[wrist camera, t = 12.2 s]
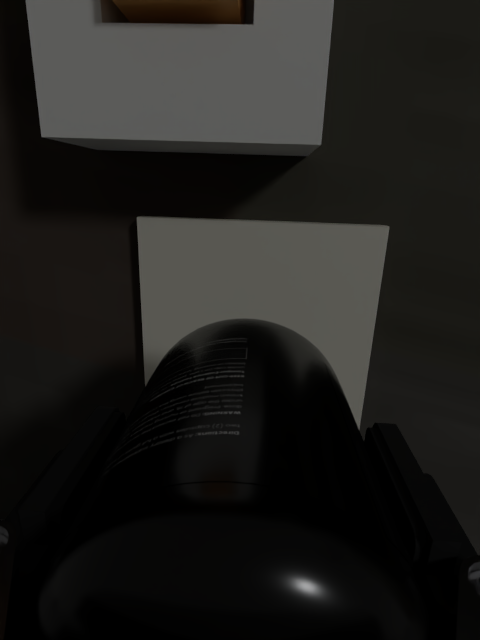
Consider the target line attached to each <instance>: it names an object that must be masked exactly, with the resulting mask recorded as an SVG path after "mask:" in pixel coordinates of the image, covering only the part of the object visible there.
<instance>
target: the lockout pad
mask: <svg viewBox="0 0 480 640" xmlns="http://www.w3.org/2000/svg"><path fill="white" fill-rule="evenodd" d="M137 231H138V252H139V272H140V292H141V312H142V332H143V353H144V373H145V386H146V385H147V383H148V381H149V379H150V378H151V376H152V374H153V373H154V371H155V369H156V368H157V366H158V364H159V363H160V361H161V360H162V358H163V357H164V356H165V355H166V353H167V352H168V351H169V350H170V349H171V348H172V347H173V346H174V345H175V344H176V343H177V342H178V341H179V340H181V339H182V338H183V337H185V336H186V335H188V334H189V333H191V332H193V331H195V330H196V329H198V328H201V327H203V326H205V325H208V324H211V323H214V322H218V321H223V320H228V319H241V318H248V319H259V320H265V321H269V322H273V323H276V324H279V325H282V326H285V327H287V328H289V329H291V330H293V331H295V332H297V333H298V334H300V335H302V336H303V337H305V338H306V339H307V340H309V341H310V342H311V343H312V344H313V345H314V346H316V347H317V348H318V349H319V350H320V352H321V353H322V354H323V355H324V356H325V358H326V359H327V360H328V362H329V363H330V365H331V366H332V368H333V370H334V372H335V374H336V376H337V378H338V380H339V383H340V385H341V387H342V389H343V392H344V394H345V396H346V399H347V401H348V404H349V406H350V409H351V411H352V414H353V416H354V419H355V421H356V424H357V426H358V429H359V427H360V421H361V414H362V407H363V401H364V394H365V387H366V380H367V374H368V367H369V360H370V354H371V347H372V340H373V333H374V327H375V320H376V313H377V307H378V300H379V293H380V286H381V280H382V273H383V266H384V260H385V253H386V246H387V239H388V233H389V226H386V225H368V224H341V223H315V222H289V221H262V220H236V219H210V218H183V217H157V216H139V217H137Z"/></svg>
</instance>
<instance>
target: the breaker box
mask: <svg viewBox="0 0 480 640" xmlns="http://www.w3.org/2000/svg"><path fill="white" fill-rule="evenodd" d="M333 6H334V0H246V11H245V24H168V23H130V21H129V20H128V19H127V18H126V17H125V15H124V14H123V13H122V12H121V11H120V9H119V8H118V7H117V6H116V4H115V3H114V2H113V1H112V0H26V8H27V17H28V25H29V34H30V42H31V51H32V60H33V68H34V77H35V85H36V94H37V102H38V111H39V120H40V128H41V137H44V138H48V139H52V140H57V141H61V142H65V143H70V144H74V145H78V146H83V147H87V148H91V149H96V150H116V151H150V152H183V153H217V154H251V155H285V156H308V155H309V154H310V153H312V152H313V151H314V150H315V149H317V148H318V147H319V146H320V145H321V140H322V129H323V118H324V106H325V95H326V84H327V73H328V62H329V50H330V39H331V28H332V17H333Z"/></svg>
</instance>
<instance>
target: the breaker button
mask: <svg viewBox="0 0 480 640" xmlns="http://www.w3.org/2000/svg"><path fill="white" fill-rule="evenodd" d="M112 1H113V2H114V3H115V4H116V6H117V7H118V8H119V9H120V11H121V12H122V13H123V14H124V15H125V17H126V18H127V19H128V20H129V21H130V23H168V24H245V11H246V0H112Z"/></svg>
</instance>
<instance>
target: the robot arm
mask: <svg viewBox="0 0 480 640" xmlns="http://www.w3.org/2000/svg"><path fill="white" fill-rule="evenodd" d="M125 422H126V420H125V414H124V413H121V412H119V409H118V408H117V407H103V406H98V407H97V408H96V409H95V410H94V411H93V413H92V414H91V415H90V417H89V418H88V419H87V421H86V422H85V423H84V425H83V426H82V427H81V428H80V430H79V431H78V432H77V434H76V435H75V436H74V438H73V439H72V440H71V442H70V443H69V444H68V446H67V447H66V448H65V449H64V450H61V451H59V452H58V453H57V454H56V455H55V457H54V458H53V459H52V460H51V462H50V463H49V464H48V466H47V467H46V468H45V469H44V471H43V472H42V473H41V475H40V476H39V477H38V478H37V480H36V481H35V482H34V484H33V485H32V486H31V487H30V489H29V490H28V491H27V493H26V494H25V495H24V496H23V498H22V499H21V500H20V501H19V503H18V504H17V505H16V507H15V508H14V509H13V510H12V512H11V513H10V514H9V516H8V517H7V518H6V519H5V520H0V640H23V631H24V624H25V619H26V615H27V611H28V607H29V604H30V601H31V598H32V595H33V593H34V591H35V589H36V586H37V584H38V582H39V580H40V578H41V576H42V574H43V572H44V570H45V568H46V566H47V563H48V561H49V559H50V557H51V556H52V554H53V552H54V550H55V548H56V546H57V545H58V543H59V541H60V539H61V537H62V536H63V534H64V532H65V530H66V528H67V527H68V525H69V523H70V521H71V519H72V518H73V516H74V514H75V512H76V510H77V509H78V507H79V505H80V503H81V501H82V500H83V498H84V496H85V494H86V492H87V491H88V489H89V487H90V485H91V483H92V482H93V480H94V478H95V476H96V474H97V473H98V471H99V469H100V467H101V465H102V464H103V462H104V460H105V458H106V456H107V455H108V453H109V451H110V449H111V447H112V446H113V444H114V442H115V440H116V438H117V437H118V435H119V433H120V431H121V429H122V428H123V426H124V424H125ZM364 444H365V446H366V449H367V451H368V454H369V456H370V459H371V461H372V464H373V466H374V469H375V471H376V474H377V476H378V479H379V481H380V484H381V486H382V489H383V491H384V494H385V496H386V499H387V501H388V504H389V506H390V509H391V511H392V514H393V516H394V518H395V521H396V523H397V526H398V528H399V531H400V533H401V536H402V538H403V541H404V543H405V546H406V548H407V551H408V553H409V556H410V558H411V561H412V563H413V566H414V568H415V571H416V573H417V576H418V578H419V581H420V583H421V586H422V589H423V592H424V595H425V598H426V601H427V603H428V606H429V609H430V612H431V615H432V618H433V621H434V625H435V628H436V632H437V636H438V640H480V555H477V553H476V551H475V549H474V548H473V546H472V544H471V543H470V541H469V539H468V537H467V536H466V534H465V532H464V530H463V529H462V527H461V525H460V524H459V522H458V520H457V518H456V517H455V515H454V513H453V511H452V510H451V508H450V506H449V505H448V503H447V501H446V499H445V498H444V496H443V494H442V492H441V491H440V489H439V487H438V486H437V484H436V482H435V480H434V479H433V478H432V476H431V475H429V474H426V473H423V472H422V470H421V468H420V466H419V465H418V463H417V461H416V459H415V457H414V456H413V454H412V452H411V450H410V448H409V447H408V445H407V443H406V441H405V439H404V438H403V436H402V434H401V432H400V430H399V428H398V427H397V425H396V424H386V423H375V424H374V425H373V428H367V430H366V435H365V441H364Z"/></svg>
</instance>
